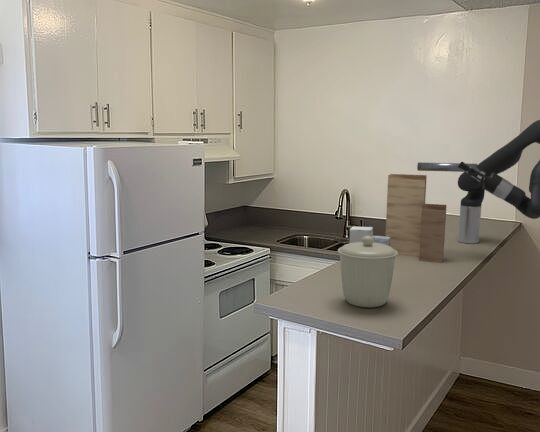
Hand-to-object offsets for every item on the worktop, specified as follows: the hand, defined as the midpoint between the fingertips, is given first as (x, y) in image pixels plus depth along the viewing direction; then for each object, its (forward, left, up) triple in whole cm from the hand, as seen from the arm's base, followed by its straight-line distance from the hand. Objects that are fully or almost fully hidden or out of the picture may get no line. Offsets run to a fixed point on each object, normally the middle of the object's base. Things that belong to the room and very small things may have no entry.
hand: (460, 164), depth 226 cm
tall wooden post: (+8, -9, -39) cm, 40 cm away
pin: (0, -5, -3) cm, 6 cm away
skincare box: (+31, -33, -39) cm, 60 cm away
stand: (0, -21, -39) cm, 44 cm away
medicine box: (+12, -29, -39) cm, 50 cm away
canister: (+73, -23, -39) cm, 86 cm away
